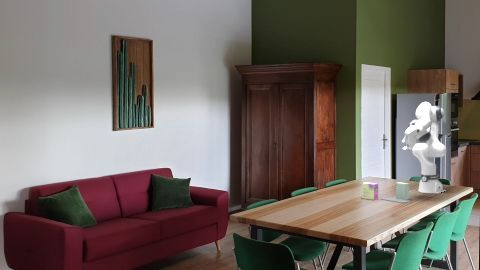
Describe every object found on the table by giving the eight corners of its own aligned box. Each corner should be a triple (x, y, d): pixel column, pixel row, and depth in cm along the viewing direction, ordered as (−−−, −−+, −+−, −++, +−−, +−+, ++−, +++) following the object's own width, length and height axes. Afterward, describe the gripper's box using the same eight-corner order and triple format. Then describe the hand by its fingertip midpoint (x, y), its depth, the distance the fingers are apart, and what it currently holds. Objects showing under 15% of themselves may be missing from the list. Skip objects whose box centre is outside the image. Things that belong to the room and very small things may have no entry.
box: (378, 199, 385) (378, 183, 385) (373, 200, 381) (373, 184, 381) (366, 197, 393) (366, 182, 392) (362, 198, 389) (362, 182, 389)
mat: (388, 197, 390) (388, 197, 390) (411, 201, 374) (411, 201, 374) (380, 199, 385) (380, 198, 385) (403, 203, 369) (403, 202, 369)
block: (400, 198, 389) (400, 182, 389) (409, 199, 383) (409, 183, 382) (395, 198, 386) (395, 182, 386) (405, 200, 380) (405, 184, 379)
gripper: (413, 139, 394) (401, 151, 391) (410, 123, 379) (398, 135, 376) (420, 143, 390) (408, 155, 387) (417, 127, 375) (405, 139, 372)
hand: (403, 145), depth 382 cm, fingers open, 8 cm apart
